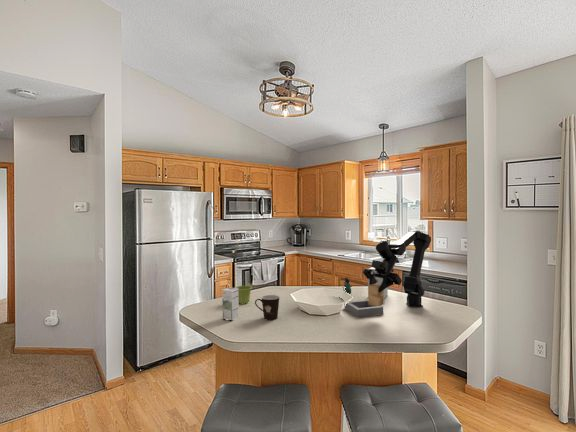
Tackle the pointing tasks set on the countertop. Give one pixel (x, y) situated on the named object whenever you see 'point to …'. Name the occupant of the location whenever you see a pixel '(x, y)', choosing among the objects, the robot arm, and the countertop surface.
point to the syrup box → (230, 303)
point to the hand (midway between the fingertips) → (374, 290)
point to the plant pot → (244, 294)
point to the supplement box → (379, 282)
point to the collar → (363, 308)
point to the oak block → (375, 295)
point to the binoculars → (347, 286)
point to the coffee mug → (269, 306)
